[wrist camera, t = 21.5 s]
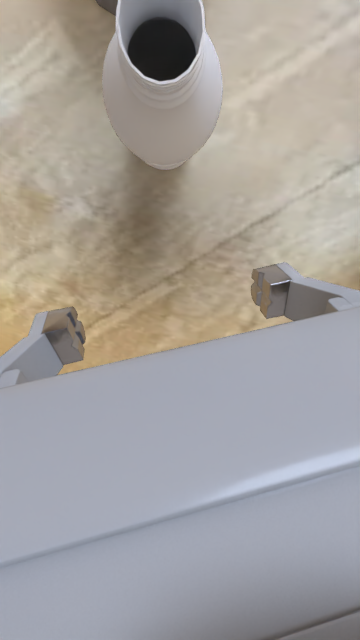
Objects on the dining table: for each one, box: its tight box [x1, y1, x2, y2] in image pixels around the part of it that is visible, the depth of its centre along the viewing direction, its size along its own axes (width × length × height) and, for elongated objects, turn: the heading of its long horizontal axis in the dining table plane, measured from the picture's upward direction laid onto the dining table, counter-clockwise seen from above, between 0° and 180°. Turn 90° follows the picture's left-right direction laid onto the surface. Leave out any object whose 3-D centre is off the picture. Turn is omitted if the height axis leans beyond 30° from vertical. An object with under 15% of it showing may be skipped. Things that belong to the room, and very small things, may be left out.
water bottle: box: [102, 0, 223, 170], centre depth 20 cm, size 7×7×25 cm
